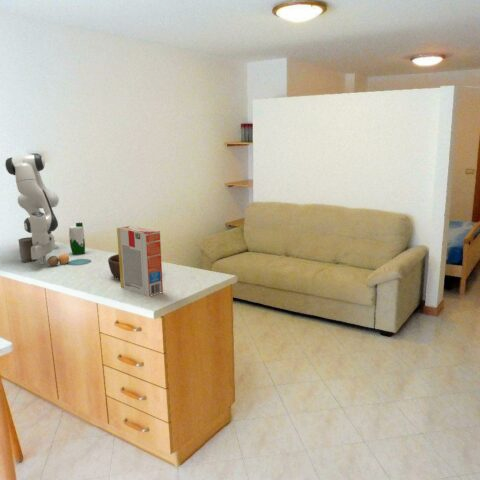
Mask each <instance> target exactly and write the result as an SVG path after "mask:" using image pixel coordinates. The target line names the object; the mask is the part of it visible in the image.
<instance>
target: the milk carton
mask: <svg viewBox="0 0 480 480" xmlns="http://www.w3.org/2000/svg"><path fill="white" fill-rule="evenodd" d="M68 228H69V229H68V230H69V231H68V237H69V246H70V251H71V253H72V256H77V255H85V254H86V241H85V231H84V225H83V222H76V223H75V225H71V226H69V227H68Z"/></svg>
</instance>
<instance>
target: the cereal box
mask: <svg viewBox="0 0 480 480" xmlns="http://www.w3.org/2000/svg"><path fill="white" fill-rule="evenodd" d="M116 234H117V236H116V237H117V249H118V252H117V253H118V254H119V266H120V279H119V280H120V287H121V288H122V289H125V290H129V291H132V292H134V293H137V294H140V295H143V294H144V295H143V296H146V295H147V296H146V297H148V296H150V297H152V296H151V295H153V296H155V295H154V294H157V293H160V292H163V293H164V290H163V289H164V286H163V268H162V267H163V265H162V248H161V247H162V246H161V244H162V243H161V231H160V230H155V229H151V228H145V227H140V226H134V225H128V226H120V227H116ZM160 294H161V293H160ZM157 295H158V294H157Z"/></svg>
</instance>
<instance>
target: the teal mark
mask: <svg viewBox="0 0 480 480" xmlns="http://www.w3.org/2000/svg"><path fill="white" fill-rule="evenodd" d="M91 262H92V259H88V258H79V259H72V260H69V261H68V263H66V265H68V266H82V265H87V264H90V263H91Z"/></svg>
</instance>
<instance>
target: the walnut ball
mask: <svg viewBox="0 0 480 480" xmlns="http://www.w3.org/2000/svg"><path fill="white" fill-rule="evenodd" d="M58 258H59V257H58V256H55V255H51V256H49V257H48V258H47V263H48V265H49V266H51V267H56V266H57V265H58V264H59V263H60V262H59V259H58Z"/></svg>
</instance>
